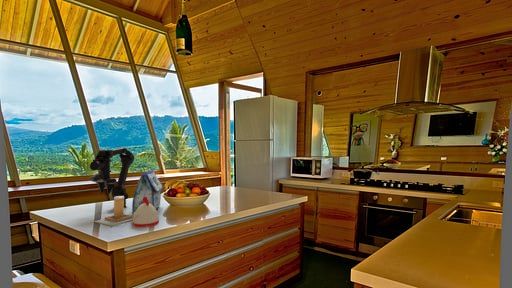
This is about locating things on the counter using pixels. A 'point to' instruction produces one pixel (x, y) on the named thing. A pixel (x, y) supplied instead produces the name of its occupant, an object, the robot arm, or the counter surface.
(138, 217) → the kitchen timer
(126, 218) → the socket board
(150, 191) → the lunch bag
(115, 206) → the beige cylinder
